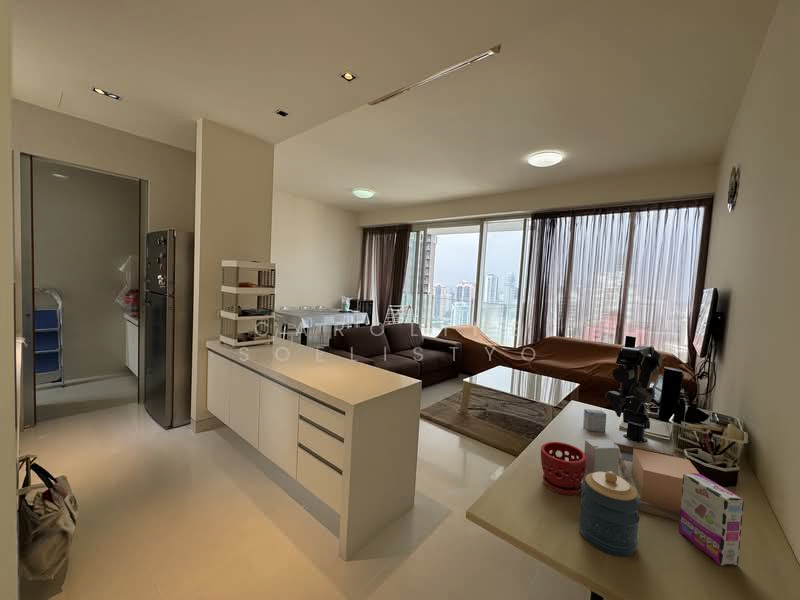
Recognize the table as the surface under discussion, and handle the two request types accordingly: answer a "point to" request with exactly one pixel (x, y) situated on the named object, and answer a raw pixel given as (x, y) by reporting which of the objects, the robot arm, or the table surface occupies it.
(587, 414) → the medicine box
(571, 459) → the plant pot
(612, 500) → the canister
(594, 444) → the skincare box
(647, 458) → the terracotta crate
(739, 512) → the candy bar box
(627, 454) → the tray
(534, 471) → the table surface
